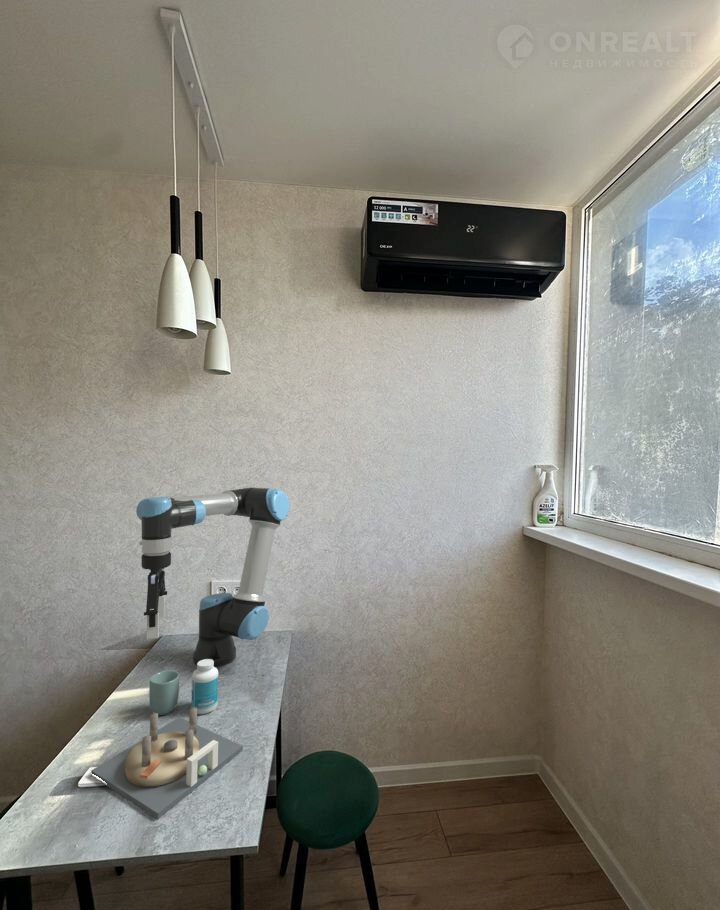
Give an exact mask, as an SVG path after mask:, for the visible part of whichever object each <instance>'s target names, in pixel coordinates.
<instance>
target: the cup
mask: <svg viewBox="0 0 720 910" xmlns="http://www.w3.org/2000/svg"><path fill="white" fill-rule="evenodd" d="M148 691H149V693H148V695H149V696H148V697H149V698H148V699H149V707H150V710H151V712H152V714H153V713H158V716H164V715H168V714H169V713H172V711H174V709H175V708H176V706H177V705H178V701H179V696H180V695H179V694H180V673H179V672H178V671H177V670H169V669H168V670H161V671H159V672H156V673H155V674H153V675H152V676H151V677H150V679H149V690H148Z"/></svg>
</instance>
